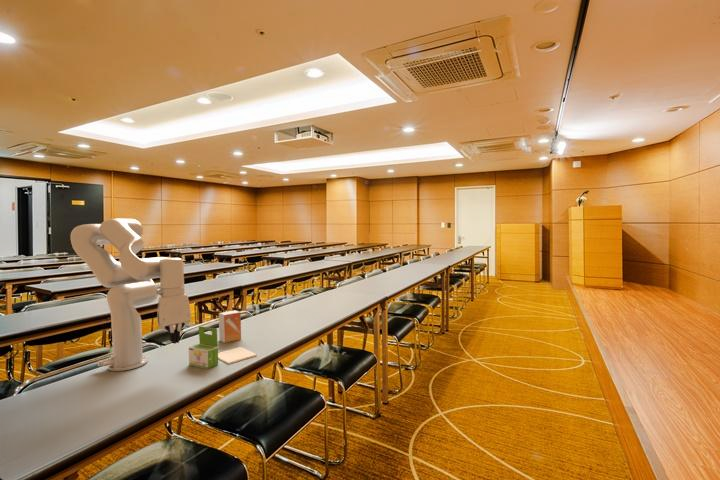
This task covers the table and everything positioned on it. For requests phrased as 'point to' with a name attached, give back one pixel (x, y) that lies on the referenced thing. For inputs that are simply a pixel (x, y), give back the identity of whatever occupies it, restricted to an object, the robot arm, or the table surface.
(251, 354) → the mat
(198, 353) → the ink box
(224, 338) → the small box
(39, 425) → the table surface
